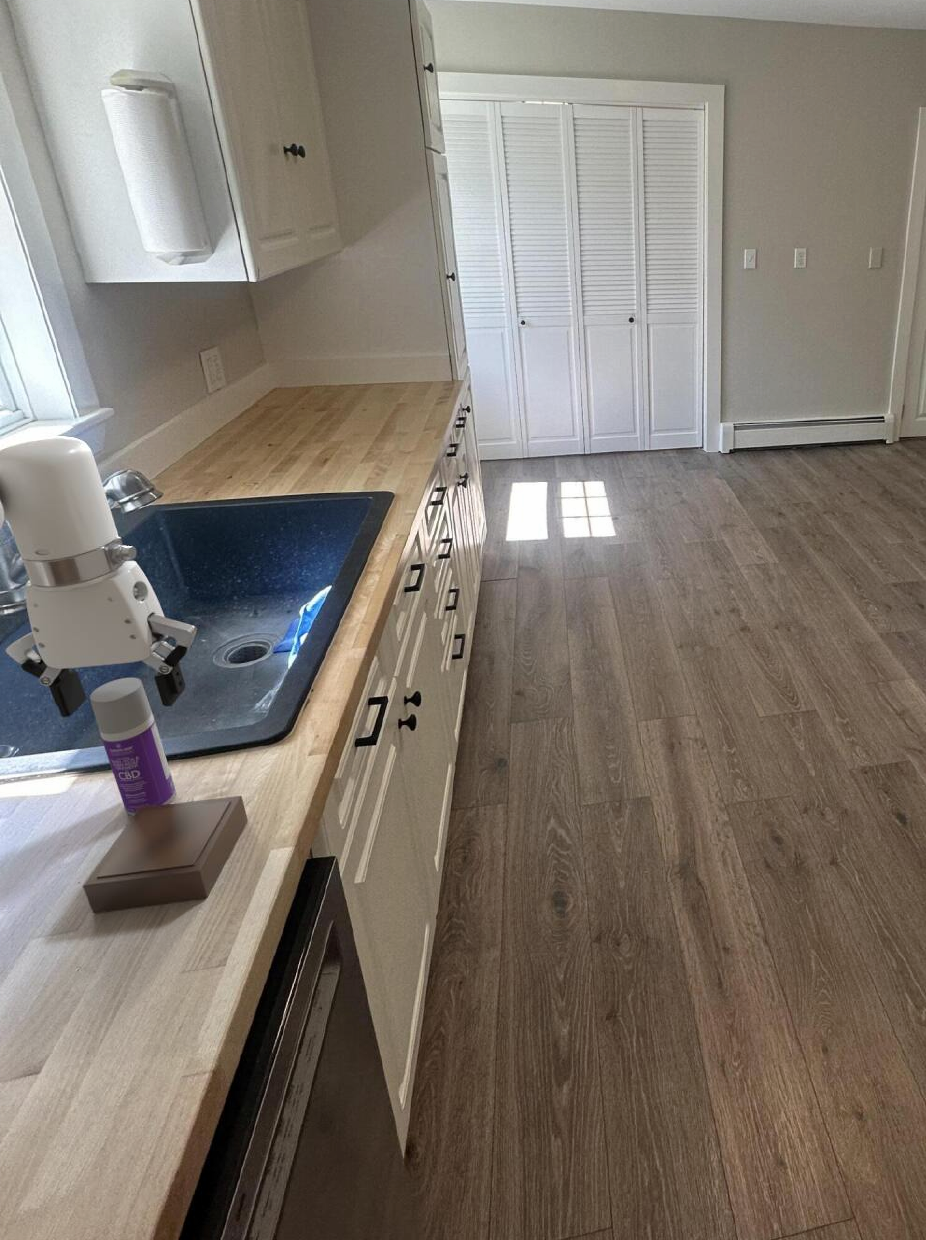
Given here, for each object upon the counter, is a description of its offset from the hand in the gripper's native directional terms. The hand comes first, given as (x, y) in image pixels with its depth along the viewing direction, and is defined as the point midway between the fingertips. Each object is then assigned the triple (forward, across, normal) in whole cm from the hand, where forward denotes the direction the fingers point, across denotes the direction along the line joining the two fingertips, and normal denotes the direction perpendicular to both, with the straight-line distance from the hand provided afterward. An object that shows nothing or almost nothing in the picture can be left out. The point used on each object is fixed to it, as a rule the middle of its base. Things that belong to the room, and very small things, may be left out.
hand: (125, 703), depth 79 cm
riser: (+13, -6, +10) cm, 18 cm away
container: (+13, 0, 0) cm, 13 cm away
